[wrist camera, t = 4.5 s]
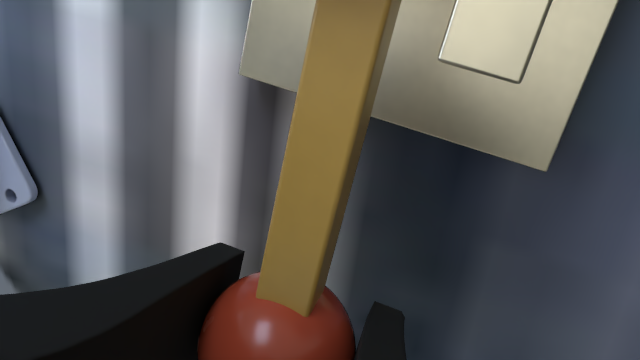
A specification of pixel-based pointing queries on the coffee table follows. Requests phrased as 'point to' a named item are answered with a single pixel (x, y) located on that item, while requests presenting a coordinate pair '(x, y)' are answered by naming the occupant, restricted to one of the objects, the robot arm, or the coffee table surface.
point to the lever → (309, 198)
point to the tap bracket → (459, 67)
